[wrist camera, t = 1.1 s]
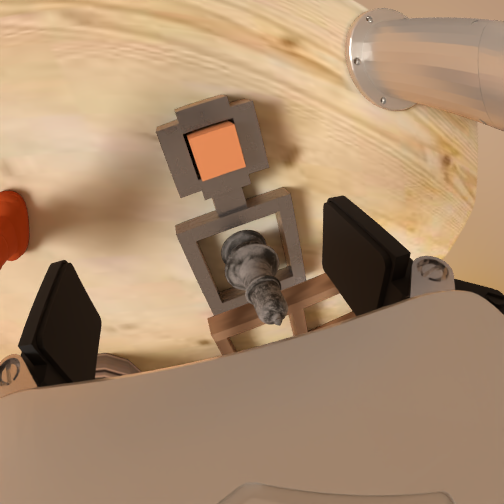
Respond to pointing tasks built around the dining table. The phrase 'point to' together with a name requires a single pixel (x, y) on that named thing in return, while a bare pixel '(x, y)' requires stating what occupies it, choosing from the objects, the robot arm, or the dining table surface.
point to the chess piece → (255, 274)
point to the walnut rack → (296, 301)
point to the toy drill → (12, 226)
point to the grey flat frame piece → (227, 194)
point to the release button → (216, 150)
